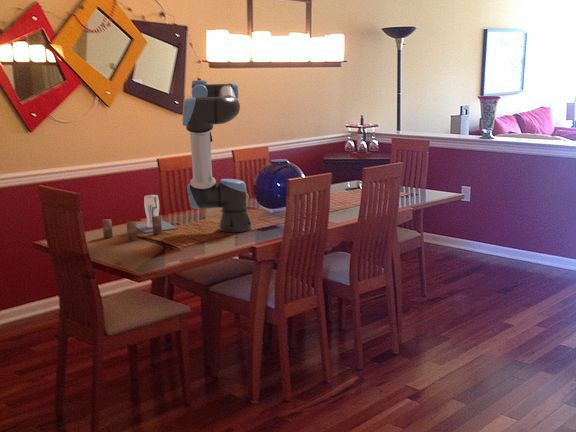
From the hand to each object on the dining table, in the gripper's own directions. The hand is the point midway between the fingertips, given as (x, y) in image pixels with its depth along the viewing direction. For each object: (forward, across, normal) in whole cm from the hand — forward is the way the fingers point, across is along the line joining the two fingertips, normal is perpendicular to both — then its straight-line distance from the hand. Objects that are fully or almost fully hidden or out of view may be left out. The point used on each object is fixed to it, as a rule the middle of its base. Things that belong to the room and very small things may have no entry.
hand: (203, 154), depth 353 cm
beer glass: (+31, -9, +31) cm, 45 cm away
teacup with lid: (+32, +13, -25) cm, 43 cm away
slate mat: (+32, -8, +30) cm, 44 cm away
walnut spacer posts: (+32, -22, +44) cm, 58 cm away
